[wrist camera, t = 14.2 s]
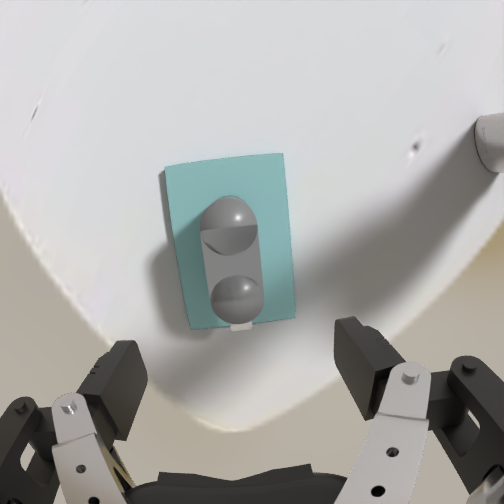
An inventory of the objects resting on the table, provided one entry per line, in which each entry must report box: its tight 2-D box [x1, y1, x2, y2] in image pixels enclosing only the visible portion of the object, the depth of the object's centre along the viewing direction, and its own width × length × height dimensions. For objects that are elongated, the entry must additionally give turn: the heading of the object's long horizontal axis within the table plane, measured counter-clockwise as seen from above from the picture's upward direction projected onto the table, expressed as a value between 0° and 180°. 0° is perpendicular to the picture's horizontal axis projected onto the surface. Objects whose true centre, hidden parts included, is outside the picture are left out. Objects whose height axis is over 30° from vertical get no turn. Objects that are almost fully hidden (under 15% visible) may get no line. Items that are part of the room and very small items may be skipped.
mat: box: [165, 153, 295, 329], centre depth 29 cm, size 12×18×1 cm, turn 6°
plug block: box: [200, 195, 264, 332], centre depth 25 cm, size 4×12×7 cm, turn 6°
